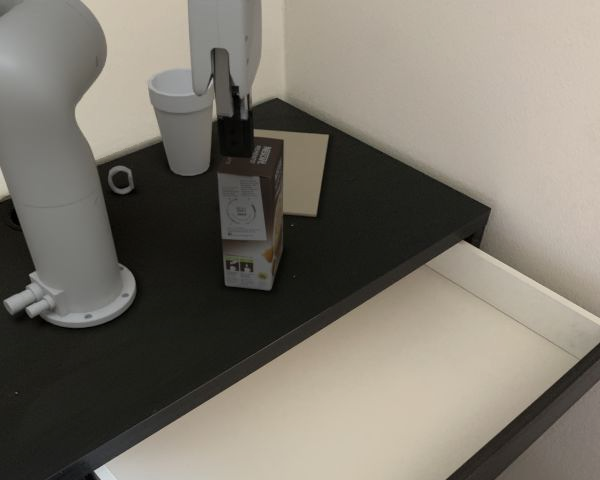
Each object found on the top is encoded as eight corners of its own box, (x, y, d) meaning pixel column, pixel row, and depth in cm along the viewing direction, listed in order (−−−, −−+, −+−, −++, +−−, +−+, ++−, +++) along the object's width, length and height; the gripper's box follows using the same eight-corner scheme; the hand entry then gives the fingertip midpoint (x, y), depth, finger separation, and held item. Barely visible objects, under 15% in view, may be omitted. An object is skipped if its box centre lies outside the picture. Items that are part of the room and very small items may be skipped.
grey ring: (111, 197, 98) (106, 172, 95) (109, 189, 100) (105, 164, 97) (135, 194, 99) (131, 169, 96) (134, 186, 100) (130, 162, 97)
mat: (316, 216, 96) (316, 214, 96) (221, 209, 97) (221, 206, 97) (328, 137, 112) (328, 134, 112) (247, 130, 113) (246, 128, 113)
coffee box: (272, 292, 85) (272, 178, 73) (223, 286, 85) (215, 172, 73) (283, 249, 91) (284, 138, 79) (238, 244, 91) (232, 133, 79)
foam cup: (209, 184, 101) (201, 99, 92) (151, 176, 102) (137, 92, 93) (225, 154, 107) (220, 71, 98) (171, 147, 109) (160, 64, 99)
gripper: (197, -93, 57) (214, 116, 71) (154, -39, 47) (183, 191, 61) (283, -89, 57) (283, 120, 71) (258, -34, 47) (264, 197, 61)
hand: (237, 152), depth 66 cm, fingers closed
